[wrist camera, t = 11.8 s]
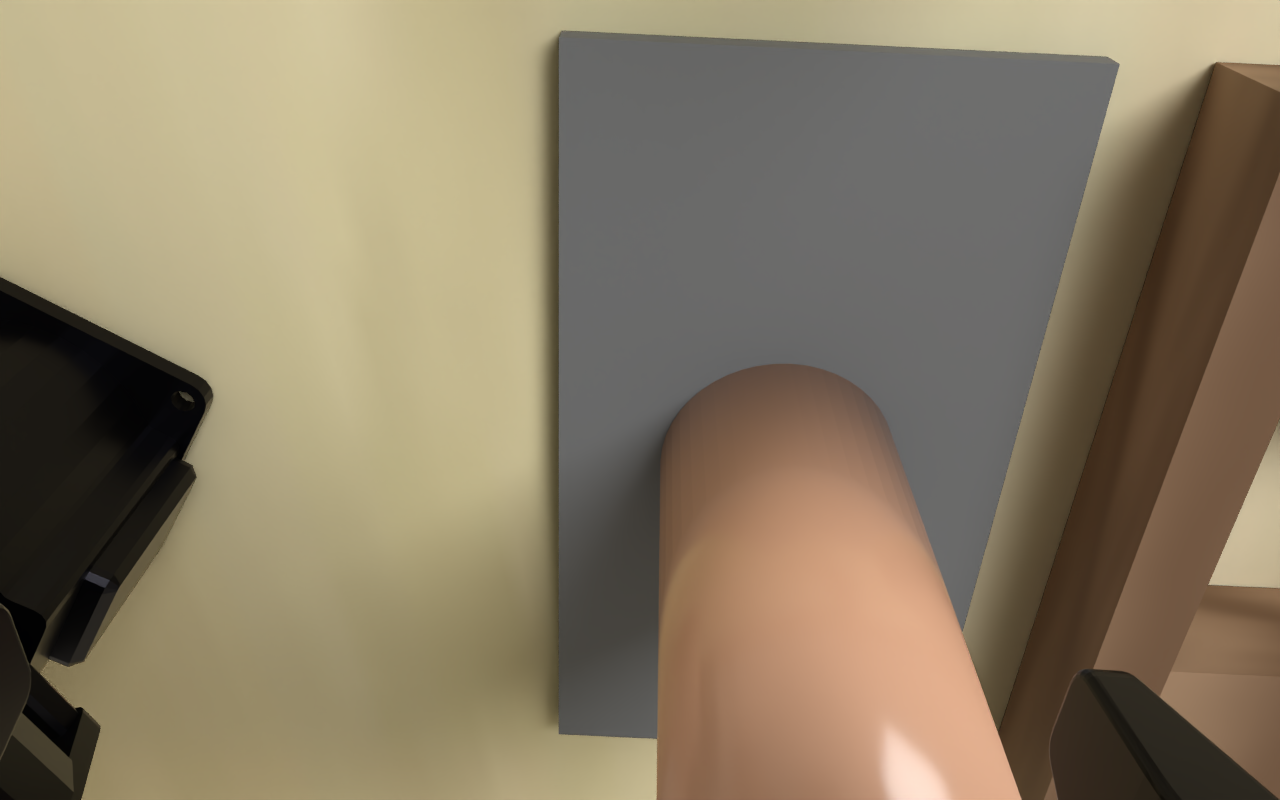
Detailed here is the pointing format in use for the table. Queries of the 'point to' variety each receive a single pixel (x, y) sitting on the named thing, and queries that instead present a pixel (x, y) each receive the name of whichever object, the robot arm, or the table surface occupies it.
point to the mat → (795, 284)
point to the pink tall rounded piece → (807, 609)
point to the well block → (1179, 465)
